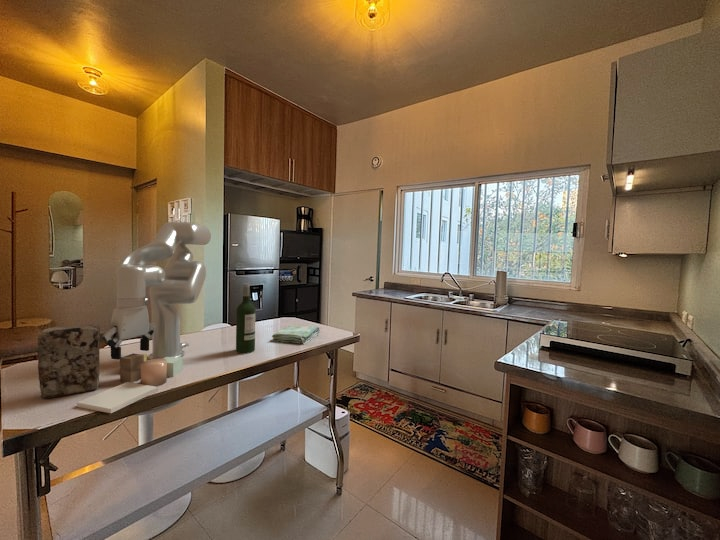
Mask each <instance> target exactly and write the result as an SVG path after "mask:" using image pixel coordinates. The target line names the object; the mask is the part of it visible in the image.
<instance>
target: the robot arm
mask: <svg viewBox="0 0 720 540" xmlns="http://www.w3.org/2000/svg"><path fill="white" fill-rule="evenodd" d="M211 239H212V233H211V231H210V229H209V227H207V226H204V225H201V224H199V223H194V222H186V221H169V222H168V221H167V222H165V223H164V224H163V225H162V226H161V227H160V229H159V230H158V232H157V233H156V235H155V236H154V237H153V239H152V240H151V242H150V243H148V244H146V245H143V246H142V247H139V248H137V249H135V250H133V251H132V252H130V253H128V254H127V255H126V256H125V257H124V259H122V261H121V263H120V264H119V266H118V267H117V269H116V272H115V279H116V284H117V285H116V308H114V309H113V311H112V315H111V322H110V329H108V331H106V332H105V333H103V334H102V335H101V338H102V339H103V341H104V343H105V344H106V345H108V347H110V359H111V360H119V361H120V358H121V357H122V347H121V346H120V345H121V344H122V342H123V341H124V340H128V339H133V338H137V337H141V338H140V339H139V350H140V351H142V352H143V351H144V352H148V351H150V340H151V338H152V353H150V354H148V355H147V360H151V359H163V358H165V357H184V355H185V351H184V350H183V348H186V347H188V346H189V345H190V343H189V341H185V342H183V343H182V342H181V311H180V310H179V308H178V306H177V305H178V304H181V305H183V304H184V305H185V304H194V303H196V301H197V300H198V299H199V296H200V294H201V290H202V288H203V285H204V282H205V281H206V276H207V269H206V266H205V264H204V263H203V262H200V261H196V260H194V255H193V253H192V251H191V250H190V249H189V247H187V245H195V246H197V245H199V246H200V245H201V246H205V245H207V244H209V243H210V241H211ZM166 259H168V261H167V262H166V265H165V267H164V269H163V268H162V267H161V266H158V265H150V264H152V263H156V262H160V261H163V260H166ZM147 287H149V291H148V292H149V298H150V303H151V310H152V322H150V318H149V316H150V315H149V311H148V307H147V305H146V303H147V302H148V297H147V298H146V296H147V295H146V288H147ZM176 304H177V305H176Z"/></svg>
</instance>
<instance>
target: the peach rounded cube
mask: <svg viewBox="0 0 720 540" xmlns="http://www.w3.org/2000/svg"><path fill="white" fill-rule="evenodd" d="M167 381H168V377H167V360H166V359H151V360H148V359H147V361H144V362H142V363H141V379H140V384H143V385H149V386H155V387H160V386H163V385H164V384H166V383H167Z"/></svg>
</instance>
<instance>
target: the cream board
mask: <svg viewBox="0 0 720 540" xmlns="http://www.w3.org/2000/svg"><path fill="white" fill-rule="evenodd" d="M158 391H159V386H157V387H155V386H149V385H143V384H141V383H136V382H133V383H131V382H123V383H122V384H121V383H120V384H119V385H117V386H115V387H112V388H109V389H107V390H104V391H102V392H100V393H97V394H94V395H91V396H89V397H87V398H84V399H82V400H79V401H78V402H76V406H77V407H78V408H81V409H87V410H92V411H97V412H103V413H106V414H112V413H114V412H117V411H119V410H121V409H123V408H125V407H127V406H129V405H131V404H133V403H136V402H138V401H139V400H142V399H143V398H146V397H148V396H149V395H153V394H154V393H157V392H158Z"/></svg>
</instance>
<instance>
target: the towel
mask: <svg viewBox="0 0 720 540" xmlns="http://www.w3.org/2000/svg"><path fill="white" fill-rule="evenodd" d="M319 333H320V327H318V326H302V325H301V326H295V325H293V326H292V325H290V326H286V327H284V328H283V329H281V330H279V331H277V332H275V333H274V334H272V336H271V338H272V341H273V340H274V341H273V342H275V341H281V342H280V343H289V342H295V343H294V344H298V343H305V342H306V341H308V340H310V339H311V338H313V337H314V336H315V335H316V334H318V335H319ZM313 339H314V338H313ZM310 341H311V340H310Z"/></svg>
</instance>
